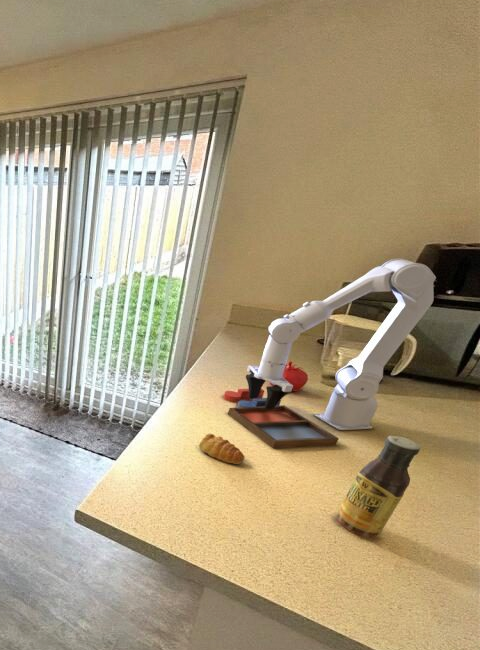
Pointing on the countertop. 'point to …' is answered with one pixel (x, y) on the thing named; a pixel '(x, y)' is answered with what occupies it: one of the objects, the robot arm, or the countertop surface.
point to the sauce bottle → (378, 488)
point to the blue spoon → (254, 403)
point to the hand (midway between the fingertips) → (260, 402)
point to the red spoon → (240, 395)
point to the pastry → (221, 449)
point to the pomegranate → (294, 376)
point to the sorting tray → (282, 427)
